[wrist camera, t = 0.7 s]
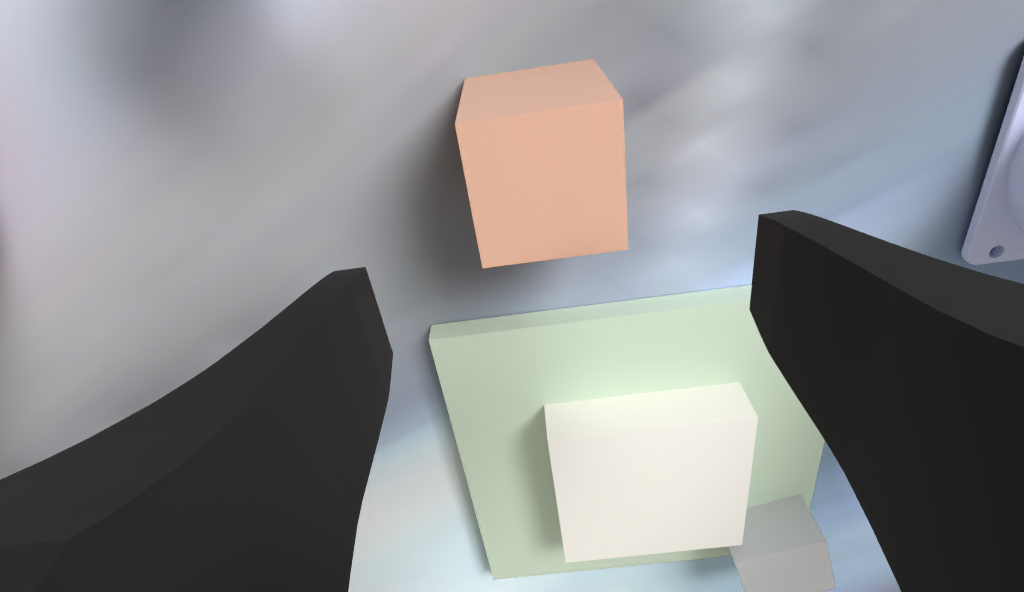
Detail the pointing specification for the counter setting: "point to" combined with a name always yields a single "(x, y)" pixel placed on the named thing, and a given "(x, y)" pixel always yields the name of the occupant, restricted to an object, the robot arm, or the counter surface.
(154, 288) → the counter surface
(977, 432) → the robot arm
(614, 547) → the cream square slab
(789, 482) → the baseplate
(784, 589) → the grey brick
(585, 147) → the salmon pink block
